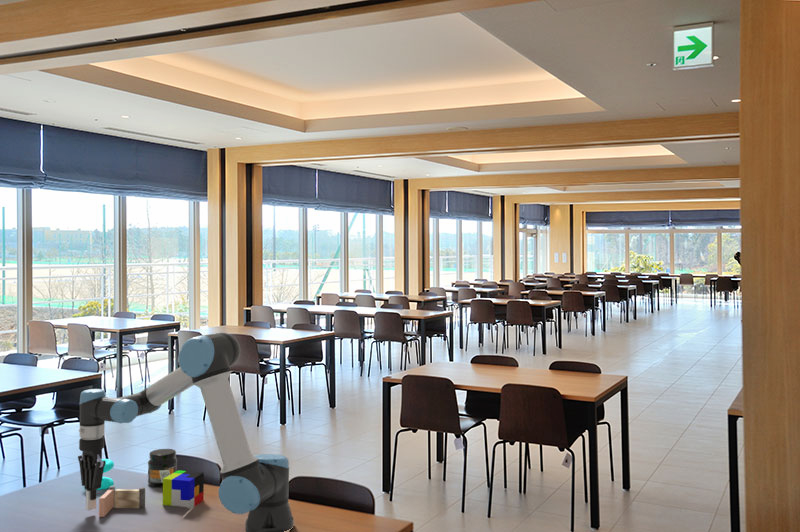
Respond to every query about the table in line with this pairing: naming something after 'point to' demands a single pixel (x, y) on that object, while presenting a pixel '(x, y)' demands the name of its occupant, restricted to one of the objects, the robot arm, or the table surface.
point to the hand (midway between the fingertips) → (90, 508)
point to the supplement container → (161, 466)
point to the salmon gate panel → (107, 501)
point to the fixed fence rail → (130, 498)
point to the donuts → (105, 480)
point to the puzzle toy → (183, 489)
